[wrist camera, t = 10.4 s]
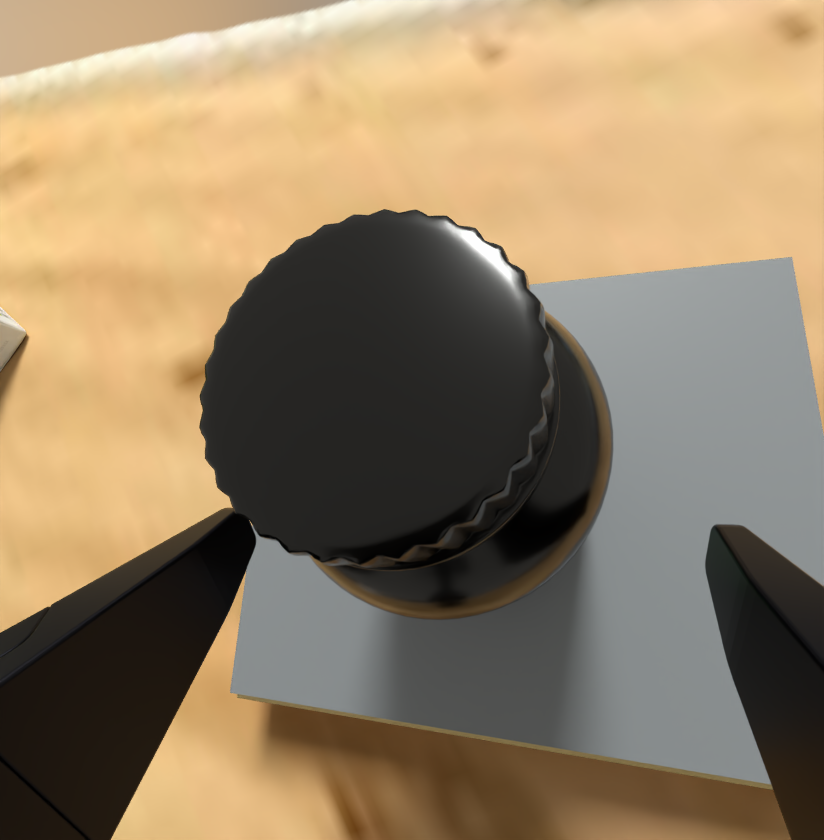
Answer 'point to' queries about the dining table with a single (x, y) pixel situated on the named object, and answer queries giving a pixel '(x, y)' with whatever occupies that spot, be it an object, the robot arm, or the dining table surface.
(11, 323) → the tea box
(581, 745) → the gray hardcover book
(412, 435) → the supplement bottle
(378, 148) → the dining table surface
